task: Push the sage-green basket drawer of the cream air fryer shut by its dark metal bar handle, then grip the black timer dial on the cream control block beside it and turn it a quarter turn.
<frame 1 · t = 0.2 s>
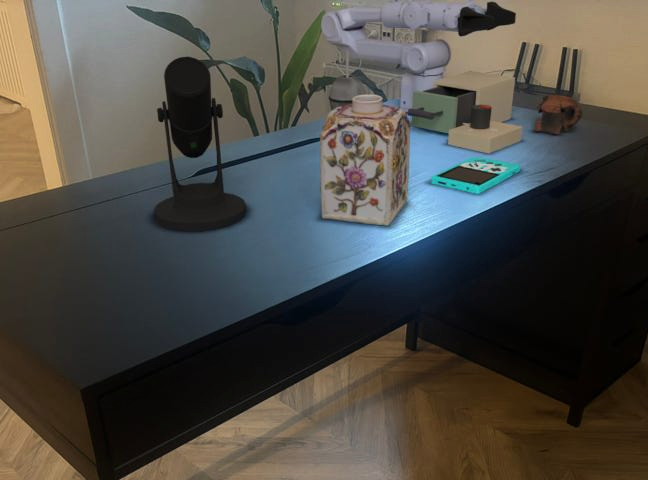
hand: (504, 20, 154), 22 cm above the table, tool horizontal, fingers open, 7 cm apart
handheld game console: (476, 178, 135), on the table
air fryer: (471, 120, 169), on the table
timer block: (484, 142, 154), on the table
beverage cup: (347, 158, 146), on the table
timer dial: (480, 116, 152), point 5 cm above the table, hinge at 0.0°
microphone: (201, 215, 121), on the table
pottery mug: (557, 131, 161), on the table
decorative jar: (364, 212, 121), on the table
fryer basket: (443, 109, 160), point 5 cm above the table, slide at 7.0 cm
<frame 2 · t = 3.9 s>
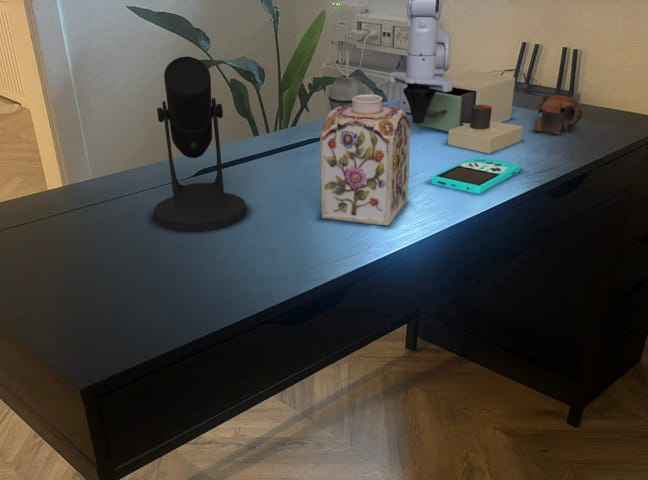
hand: (418, 122, 155), 3 cm above the table, tool pointing down, fingers closed, pressing on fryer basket
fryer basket: (447, 107, 161), point 5 cm above the table, slide at 5.6 cm, touching gripper
everything else where it was.
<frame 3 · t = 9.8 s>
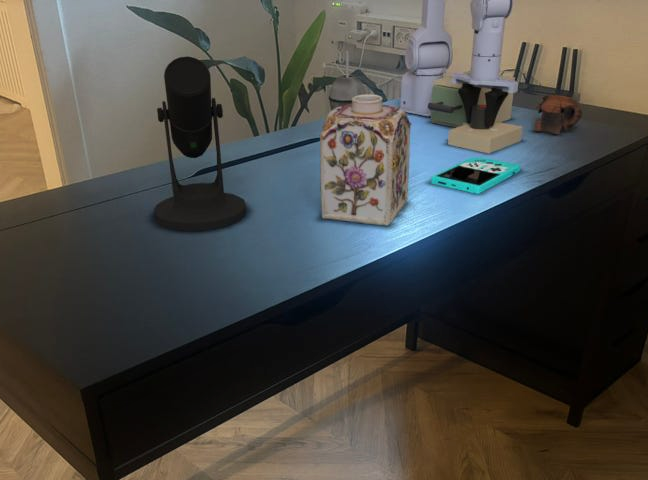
hand: (479, 124, 153), 4 cm above the table, tool pointing down, fingers closed on timer dial, 4 cm apart
timer dial: (480, 116, 152), point 5 cm above the table, hinge at -0.2°, touching gripper
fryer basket: (462, 103, 164), point 5 cm above the table, slide at 0.0 cm, touching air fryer
everything else where it was.
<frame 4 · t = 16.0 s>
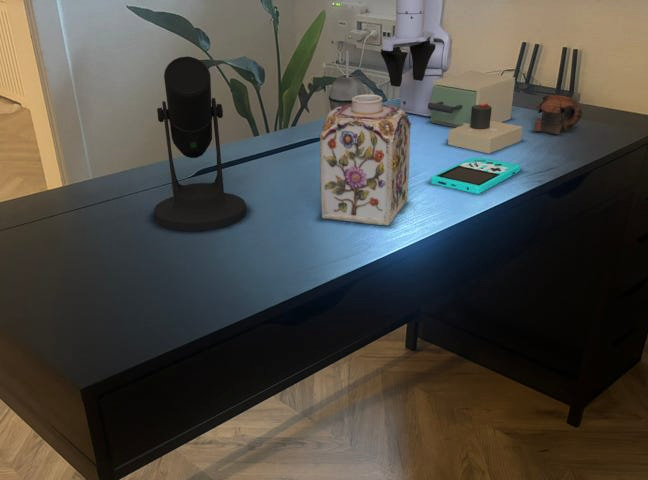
hand: (407, 83, 156), 10 cm above the table, tool pointing down, fingers open, 7 cm apart
timer dial: (480, 116, 152), point 5 cm above the table, hinge at 90.3°
everything else where it was.
at the end: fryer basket slide at 0.0 cm; timer dial at +90° (first picture: +0°) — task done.
